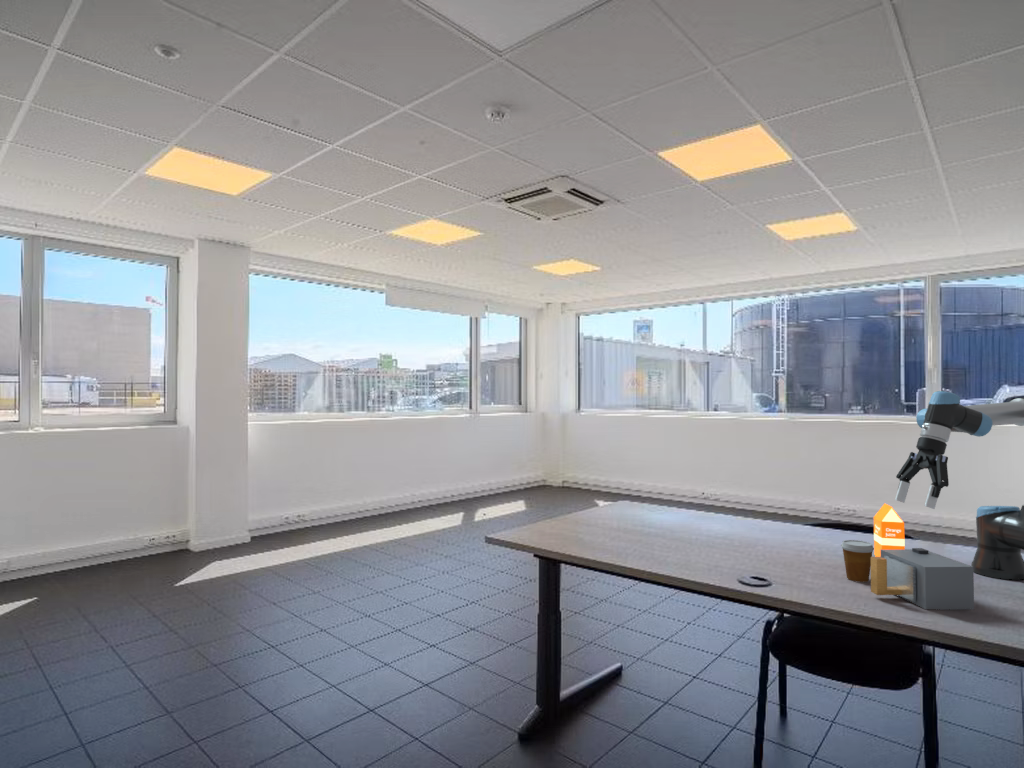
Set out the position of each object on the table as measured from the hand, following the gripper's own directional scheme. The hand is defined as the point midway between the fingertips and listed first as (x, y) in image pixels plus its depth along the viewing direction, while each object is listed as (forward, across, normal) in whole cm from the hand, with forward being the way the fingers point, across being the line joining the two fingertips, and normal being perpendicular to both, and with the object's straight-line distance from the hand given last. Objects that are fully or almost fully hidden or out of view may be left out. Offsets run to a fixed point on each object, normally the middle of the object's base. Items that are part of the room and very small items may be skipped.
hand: (913, 504), depth 190 cm
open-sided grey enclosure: (+26, +6, +7) cm, 28 cm away
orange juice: (+19, -38, +23) cm, 49 cm away
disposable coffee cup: (+29, -13, -2) cm, 32 cm away
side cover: (+29, +6, -4) cm, 30 cm away
